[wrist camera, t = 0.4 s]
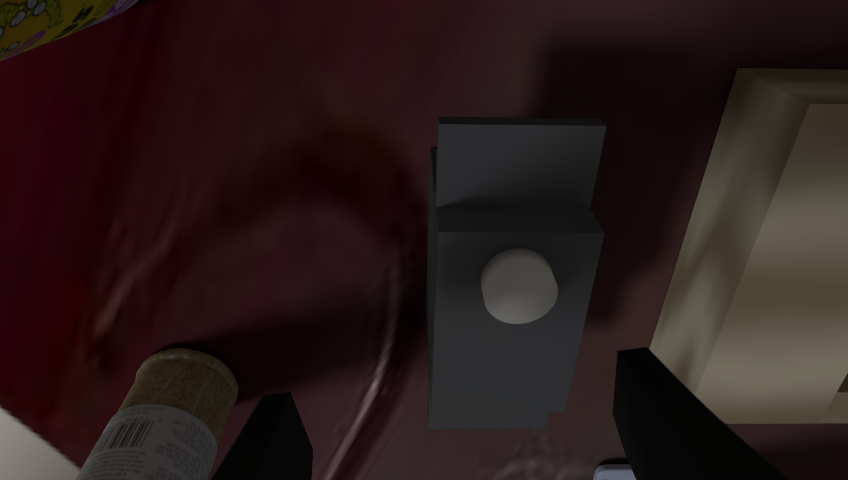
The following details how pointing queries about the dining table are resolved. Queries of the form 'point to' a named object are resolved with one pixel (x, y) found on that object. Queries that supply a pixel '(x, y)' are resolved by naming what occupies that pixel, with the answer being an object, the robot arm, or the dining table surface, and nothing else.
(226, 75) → the dining table surface
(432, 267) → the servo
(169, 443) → the sprinkles bottle
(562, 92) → the dining table surface
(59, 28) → the supplement bottle
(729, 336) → the tan slotted block
